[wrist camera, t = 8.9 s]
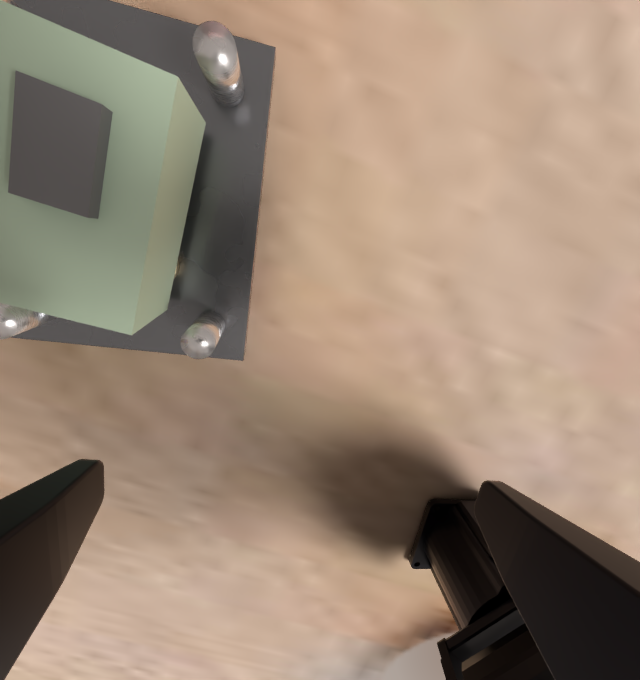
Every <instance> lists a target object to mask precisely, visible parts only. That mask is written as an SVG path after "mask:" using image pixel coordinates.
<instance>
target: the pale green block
mask: <svg viewBox="0 0 640 680" xmlns="http://www.w3.org/2000/svg"><path fill="white" fill-rule="evenodd" d="M205 125H206V122H205V121H204V119H203V117H202V116H201V114H200V112H199V111H198V109H197V107H196V106H195V104H194V102H193V101H192V99H191V97H190V96H189V94H188V92H187V91H186V89H185V87H184V86H183V84H182V82H181V81H180V79H179V77H178V76H175V75H173V74H171V73H168V72H166V71H164V70H162V69H159V68H157V67H155V66H152V65H150V64H148V63H145V62H143V61H141V60H138V59H136V58H134V57H131V56H129V55H127V54H125V53H122V52H120V51H118V50H115V49H113V48H111V47H108V46H106V45H104V44H101V43H99V42H97V41H95V40H92V39H90V38H88V37H85V36H83V35H81V34H78V33H76V32H74V31H71V30H69V29H67V28H64V27H62V26H60V25H58V24H55V23H53V22H51V21H48V20H46V19H44V18H41V17H39V16H37V15H34V14H32V13H30V12H27V11H25V10H23V9H21V8H18V7H16V6H14V5H11V4H9V3H7V2H4V1H2V0H0V303H3V304H7V305H11V306H15V307H19V308H23V309H27V310H31V311H35V312H39V313H43V314H47V315H51V316H55V317H59V318H63V319H67V320H72V321H76V322H80V323H84V324H88V325H92V326H96V327H100V328H104V329H108V330H112V331H116V332H120V333H124V334H128V335H133V334H134V333H136V332H137V331H138V330H140V329H141V328H143V327H144V326H145V325H147V324H148V323H150V322H151V321H152V320H154V319H155V318H156V317H158V316H159V315H161V314H162V313H163V312H165V311H166V310H167V309H168V304H169V299H170V295H171V290H172V285H173V280H174V275H175V270H176V265H177V261H178V256H179V251H180V246H181V241H182V236H183V231H184V227H185V222H186V217H187V212H188V207H189V202H190V198H191V193H192V188H193V183H194V178H195V173H196V168H197V164H198V159H199V154H200V149H201V144H202V139H203V134H204V130H205Z"/></svg>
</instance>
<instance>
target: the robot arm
mask: <svg viewBox="0 0 640 680" xmlns="http://www.w3.org/2000/svg"><path fill="white" fill-rule="evenodd" d="M103 497H104V466H103V463H102V462H101V461H100V460H89V459H81V460H78V461H75V462H73V463H71V464H69V465H67V466H65V467H63V468H61V469H59V470H57V471H56V472H54V473H52V474H50V475H48V476H46V477H44V478H42V479H40V480H38V481H36V482H34V483H32V484H30V485H28V486H26V487H24V488H22V489H20V490H18V491H16V492H14V493H12V494H10V495H8V496H6V497H4V498H2V499H0V680H4V679H5V678H6V676H7V675H8V673H9V671H10V670H11V668H12V666H13V665H14V663H15V661H16V660H17V658H18V656H19V655H20V653H21V651H22V650H23V648H24V646H25V645H26V643H27V641H28V640H29V638H30V637H31V635H32V633H33V632H34V630H35V628H36V627H37V625H38V623H39V622H40V620H41V618H42V617H43V615H44V613H45V612H46V610H47V608H48V607H49V605H50V603H51V602H52V600H53V599H54V597H55V595H56V593H57V592H58V590H59V588H60V586H61V585H62V583H63V581H64V579H65V577H66V575H67V573H68V571H69V569H70V567H71V565H72V563H73V561H74V559H75V557H76V555H77V553H78V551H79V549H80V547H81V545H82V543H83V541H84V539H85V537H86V534H87V532H88V530H89V528H90V526H91V524H92V522H93V520H94V518H95V516H96V514H97V512H98V510H99V508H100V506H101V504H102V501H103ZM409 562H410V565H411V567H412V568H413V569H431V571H432V573H433V575H434V577H435V579H436V582H437V584H438V586H439V588H440V590H441V592H442V594H443V596H444V599H445V601H446V603H447V605H448V607H449V609H450V611H451V613H452V615H453V618H454V620H455V622H456V624H457V626H458V628H459V631H458V632H456V633H455V634H453V635H452V636H450V637H449V638H447V639H445V638H443V639H442V640H440V641H439V642H437V645H438V648H439V651H440V655H441V663H442V667H443V670H444V674H445V677H446V680H640V562H639V561H637V560H635V559H633V558H632V557H630V556H628V555H627V554H625V553H623V552H621V551H620V550H618V549H616V548H615V547H613V546H611V545H609V544H608V543H606V542H604V541H603V540H601V539H599V538H597V537H596V536H594V535H592V534H591V533H589V532H587V531H585V530H584V529H582V528H580V527H578V526H577V525H575V524H573V523H572V522H570V521H568V520H566V519H565V518H563V517H561V516H560V515H558V514H556V513H554V512H553V511H551V510H549V509H548V508H546V507H544V506H542V505H541V504H539V503H537V502H536V501H534V500H532V499H530V498H529V497H527V496H525V495H524V494H522V493H520V492H518V491H517V490H515V489H513V488H511V487H510V486H508V485H506V484H505V483H503V482H500V481H488V480H487V481H484V482H483V483H482V485H481V487H480V490H479V493H478V496H477V499H476V500H454V499H433V500H431V501H430V502H429V503H428V504H427V508H426V511H425V514H424V517H423V520H422V523H421V526H420V529H419V532H418V535H417V538H416V541H415V544H414V547H413V550H412V553H411V556H410V559H409Z"/></svg>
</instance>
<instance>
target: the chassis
mask: <svg viewBox="0 0 640 680" xmlns="http://www.w3.org/2000/svg"><path fill="white" fill-rule="evenodd" d="M2 1H4V2H7V3H9V4H11V5H14V6H16V7H18V8H21V9H23V10H25V11H27V12H30V13H32V14H34V15H37V16H39V17H41V18H44V19H46V20H48V21H51V22H53V23H55V24H58V25H60V26H62V27H64V28H67V29H69V30H71V31H74V32H76V33H78V34H81V35H83V36H85V37H88V38H90V39H92V40H95V41H97V42H99V43H101V44H104V45H106V46H108V47H111V48H113V49H115V50H118V51H120V52H122V53H125V54H127V55H129V56H131V57H134V58H136V59H138V60H141V61H143V62H145V63H148V64H150V65H152V66H155V67H157V68H159V69H162V70H164V71H166V72H168V73H171V74H173V75H175V76H178V77H179V79H180V81H181V82H182V84H183V86H184V87H185V89H186V91H187V92H188V94H189V96H190V97H191V99H192V101H193V102H194V104H195V106H196V107H197V109H198V111H199V112H200V114H201V116H202V117H203V119H204V121H205V122H206V125H205V130H204V134H203V139H202V144H201V149H200V154H199V159H198V164H197V168H196V173H195V178H194V183H193V188H192V193H191V198H190V202H189V207H188V212H187V217H186V222H185V227H184V231H183V236H182V241H181V246H180V251H179V256H178V261H177V265H176V270H175V275H174V280H173V285H172V290H171V295H170V299H169V304H168V309H167V310H166V311H165V312H163V313H162V314H161V315H159V316H158V317H156V318H155V319H154V320H152V321H151V322H150V323H148V324H147V325H145V326H144V327H143V328H141V329H140V330H138V331H137V332H136V333H134V334H133V335H128V334H124V333H120V332H116V331H112V330H108V329H104V328H100V327H96V326H92V325H88V324H84V323H80V322H76V321H72V320H67V319H63V318H59V317H55V316H51V315H47V314H43V313H39V312H35V311H31V310H27V309H23V308H19V307H15V306H11V305H7V304H3V303H0V339H7V338H9V337H11V338H21V339H31V340H41V341H51V342H61V343H71V344H81V345H91V346H101V347H111V348H121V349H131V350H141V351H151V352H161V353H171V354H181V355H188V356H189V357H191V358H194V359H204V358H206V357H211V358H221V359H231V360H241V361H243V360H244V355H245V347H246V338H247V328H248V318H249V309H250V299H251V289H252V280H253V270H254V260H255V251H256V241H257V231H258V222H259V212H260V202H261V193H262V183H263V173H264V164H265V154H266V144H267V135H268V125H269V115H270V106H271V96H272V86H273V77H274V67H275V47H272V46H269V45H265V44H262V43H258V42H255V41H251V40H248V39H244V38H241V37H237V36H233V35H232V34H231V32H230V31H229V30H228V29H227V28H226V27H225V26H224V25H222V24H221V23H219V22H215V21H207V22H204V23H202V24H201V25H199V26H198V25H195V24H191V23H188V22H184V21H180V20H177V19H173V18H170V17H166V16H163V15H159V14H156V13H152V12H149V11H145V10H142V9H138V8H134V7H131V6H127V5H124V4H120V3H117V2H113V1H110V0H2Z"/></svg>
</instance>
